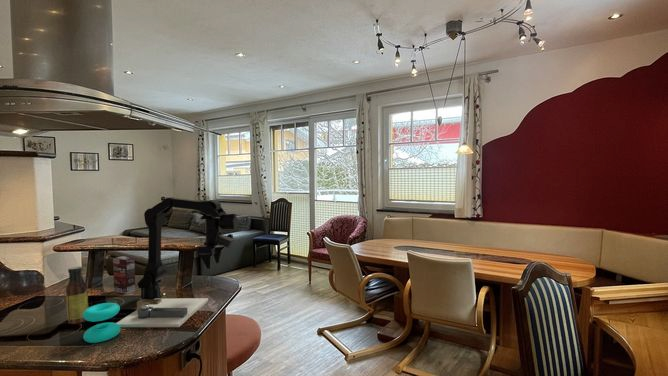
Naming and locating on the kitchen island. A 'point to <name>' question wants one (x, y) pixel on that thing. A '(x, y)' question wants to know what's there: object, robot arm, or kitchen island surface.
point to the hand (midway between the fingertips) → (213, 265)
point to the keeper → (147, 302)
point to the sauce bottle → (76, 296)
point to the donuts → (103, 329)
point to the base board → (188, 303)
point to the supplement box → (124, 274)
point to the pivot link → (160, 312)
